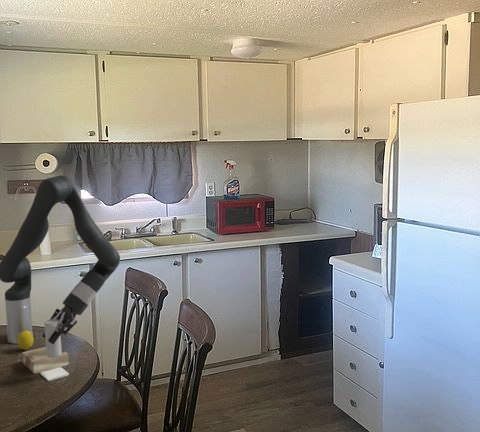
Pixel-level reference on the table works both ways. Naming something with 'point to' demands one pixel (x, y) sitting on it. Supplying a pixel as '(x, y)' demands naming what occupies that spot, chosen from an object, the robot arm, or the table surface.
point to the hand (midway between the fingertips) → (47, 340)
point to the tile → (54, 373)
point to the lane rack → (43, 360)
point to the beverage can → (50, 328)
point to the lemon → (25, 340)
